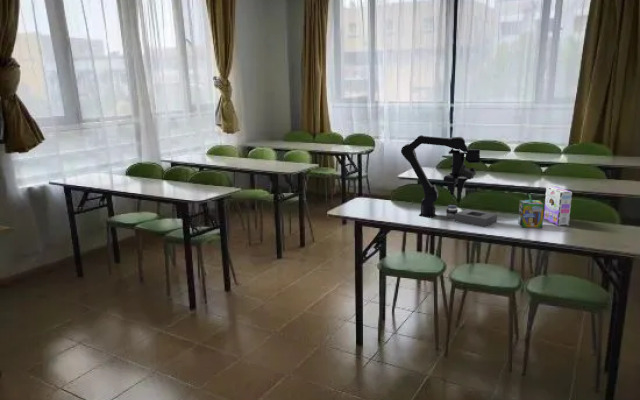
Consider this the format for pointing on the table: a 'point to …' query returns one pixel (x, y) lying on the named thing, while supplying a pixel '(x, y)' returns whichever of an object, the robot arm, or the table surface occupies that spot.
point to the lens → (451, 211)
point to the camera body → (476, 218)
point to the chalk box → (530, 213)
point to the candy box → (557, 206)
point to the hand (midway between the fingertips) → (456, 193)
